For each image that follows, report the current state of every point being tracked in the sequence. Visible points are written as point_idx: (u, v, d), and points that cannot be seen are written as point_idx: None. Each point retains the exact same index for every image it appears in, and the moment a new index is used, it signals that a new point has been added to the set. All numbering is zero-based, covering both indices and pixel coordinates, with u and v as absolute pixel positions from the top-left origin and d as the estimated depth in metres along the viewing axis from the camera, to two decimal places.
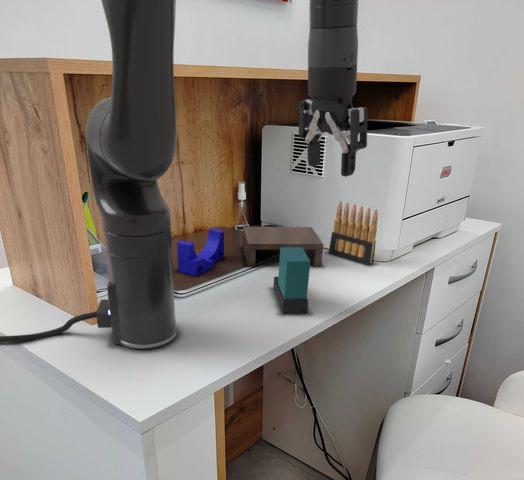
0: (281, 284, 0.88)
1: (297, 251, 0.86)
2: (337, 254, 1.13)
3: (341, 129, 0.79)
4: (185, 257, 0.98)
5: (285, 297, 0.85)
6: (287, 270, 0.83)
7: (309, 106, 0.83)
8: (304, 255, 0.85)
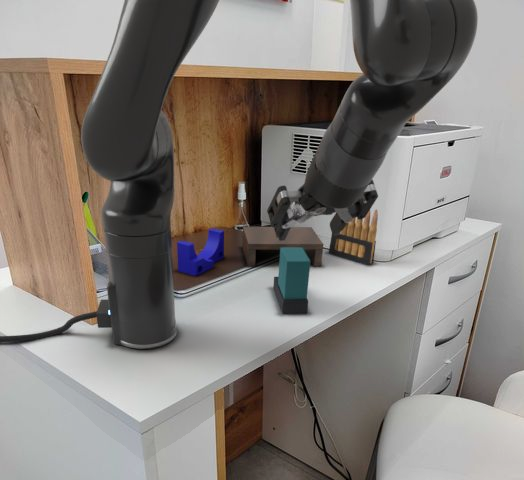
0: (281, 284, 0.88)
1: (297, 251, 0.86)
2: (337, 254, 1.13)
3: None
4: (185, 257, 0.98)
5: (285, 297, 0.85)
6: (287, 270, 0.83)
7: None
8: (304, 255, 0.85)
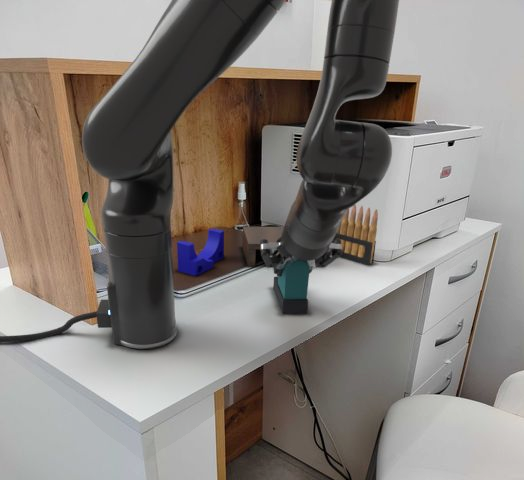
0: (281, 284, 0.88)
1: None
2: None
3: None
4: (185, 257, 0.98)
5: (285, 297, 0.85)
6: (287, 270, 0.83)
7: None
8: None
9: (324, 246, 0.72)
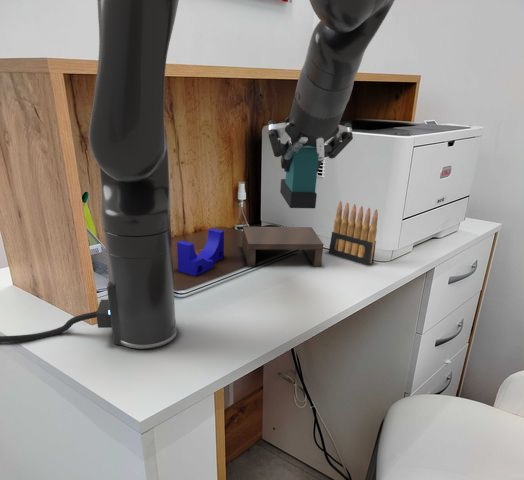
0: (289, 179, 0.85)
1: None
2: (337, 254, 1.13)
3: None
4: (185, 257, 0.98)
5: (293, 189, 0.83)
6: (295, 158, 0.80)
7: None
8: None
9: (335, 116, 0.69)
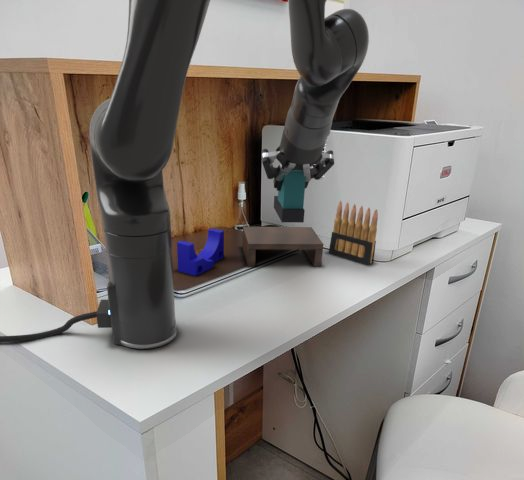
0: (280, 197, 0.98)
1: None
2: (337, 254, 1.13)
3: None
4: (185, 257, 0.98)
5: (284, 206, 0.96)
6: (285, 180, 0.93)
7: None
8: None
9: (317, 147, 0.83)
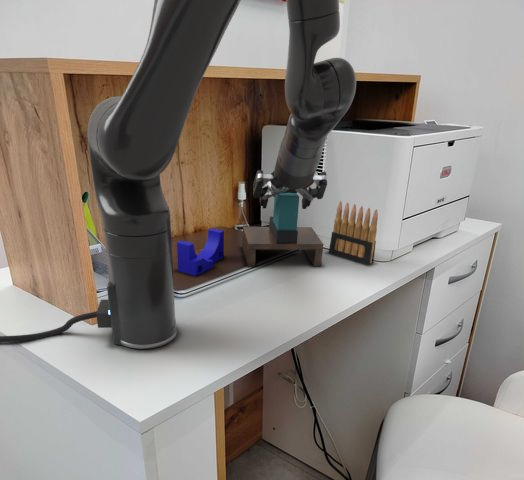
0: (275, 219, 1.05)
1: None
2: (337, 254, 1.13)
3: None
4: (185, 257, 0.98)
5: (278, 228, 1.03)
6: (280, 204, 1.00)
7: None
8: (294, 193, 1.02)
9: (308, 174, 0.89)
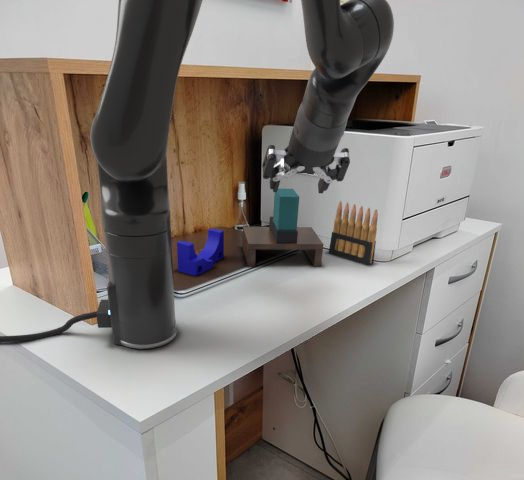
0: (275, 219, 1.05)
1: (289, 190, 1.04)
2: (337, 254, 1.13)
3: None
4: (185, 257, 0.98)
5: (278, 228, 1.03)
6: (280, 204, 1.00)
7: None
8: (294, 193, 1.02)
9: (330, 149, 0.75)
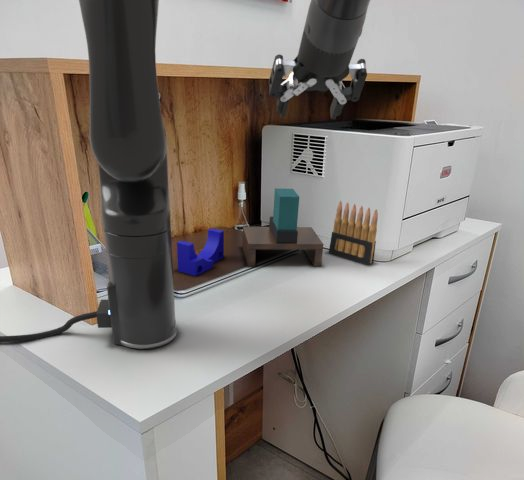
0: (275, 219, 1.05)
1: (289, 190, 1.04)
2: (337, 254, 1.13)
3: None
4: (185, 257, 0.98)
5: (278, 228, 1.03)
6: (280, 204, 1.00)
7: None
8: (294, 193, 1.02)
9: (346, 51, 0.66)
